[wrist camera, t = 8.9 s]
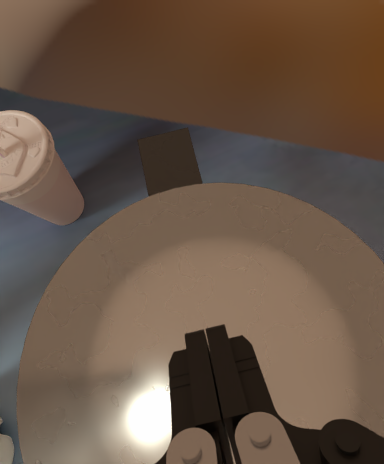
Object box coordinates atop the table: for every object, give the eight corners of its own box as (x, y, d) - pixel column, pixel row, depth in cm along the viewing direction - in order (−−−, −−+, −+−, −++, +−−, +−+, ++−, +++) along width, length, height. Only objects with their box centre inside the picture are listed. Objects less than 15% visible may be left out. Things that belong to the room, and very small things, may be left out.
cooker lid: (499, 558, 14) (531, 582, 12) (49, 661, 14) (30, 696, 13) (314, 109, 21) (320, 92, 20) (18, 181, 21) (4, 169, 20)
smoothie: (48, 253, 31) (-86, 181, 17) (20, 198, 32) (-120, 96, 19) (111, 214, 31) (28, 116, 18) (79, 163, 33) (-16, 40, 20)
